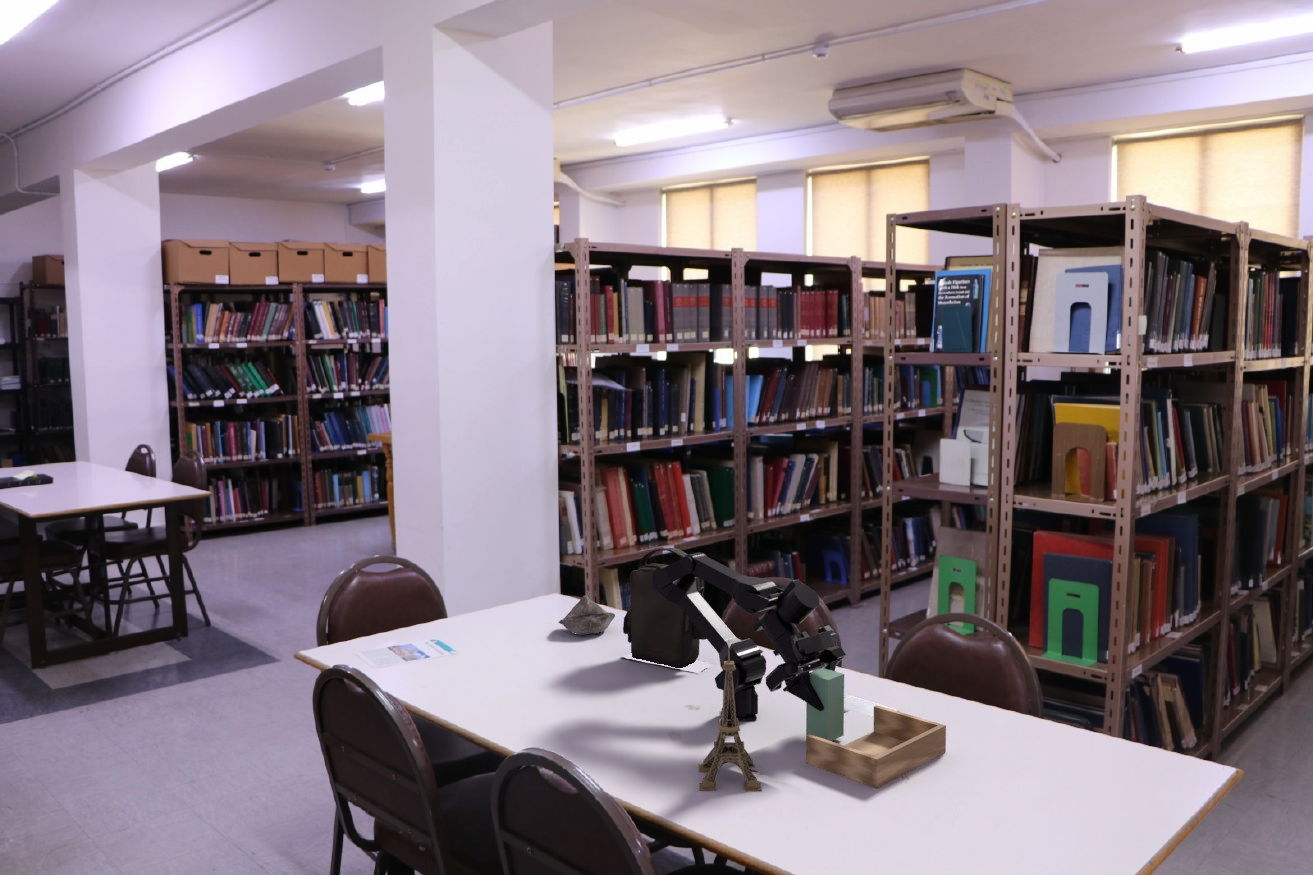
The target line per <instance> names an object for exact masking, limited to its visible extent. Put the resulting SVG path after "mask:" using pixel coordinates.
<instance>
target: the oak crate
mask: <svg viewBox="0 0 1313 875" xmlns="http://www.w3.org/2000/svg"><path fill="white" fill-rule="evenodd" d="M805 735H806V734H805ZM946 742H947V725H946V724H943V723H940V722H935V721H932V720H928V719H926V718H921V717H918V716H914V715H911V714H908V713H905V712H902V711H900V712H898V711H895V710H891V709H888V708H884V707H881V706H878V705H876V706H874V717H873V731H871V732H870V733H867V734H865V735H863V736H861V737H859V738H857V739H855V740H853V741H850V742H848V743H846V744H844V745H843V744H840V743H838V742H833V740H832V741H829V740H826V739H823V738H820V737H817V736H814V735H811V734H809V735H806V736H805V745H806V746H805V763H806V764H808V765H811V766H813V767H816V768H819V769H822V770H825V771H826V772H830V773H832V774H836V775H838V776H841V777H844V778H846V779H849V780H852V781H855V782H858V783H860V784H863V785H866V786H868V787H871V788H874V789H879V788H881V787H882V786H885V785H886V784H888V783H890V782H892V781H894V780H897V779H898V778H900V777H901V776H903V775H905V774H908V773H909V772H911V771H912V770H915V769H917V768H918V767H920V766H922V765H924V764H927V763H928V762H929V761H932V760H934V759H935V758H937V757H939V756H941V755H943V754H945V753H946V750H947V748H946V746H947V743H946Z"/></svg>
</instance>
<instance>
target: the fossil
mask: <svg viewBox="0 0 1313 875" xmlns="http://www.w3.org/2000/svg"><path fill="white" fill-rule="evenodd" d="M615 617H616V614H615V613H613V612H611V611H610V612H608V611H607V610H605V609H604V608H602V607H601V605H599V604H598V603H596V602H595V601H594V600H592V599H591V598H590V597H589V595H583V596H582V597H581V598H580V600H579V601H578V602H577V603H575V605H574V606H573V607H572V608H571V610H570V611H569V612H568V613H567V614H566V615H565V617H564V618H562V619H560V620H559V621H558V623H559V624H560V625H562V626H564V627H565V628H566V629H567V630H568V631H569V632H570V633H572V634H574V633H576V634H575V635H579V634H585V635H589V634H588V633H590V634H592V633H597V634H600V633H599V632H601V633H603V632H605V631H606V630H607V629H608V628H609V626H610V624H611V622H612V621H613V620H614V619H615Z"/></svg>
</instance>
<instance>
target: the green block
mask: <svg viewBox="0 0 1313 875" xmlns="http://www.w3.org/2000/svg"><path fill="white" fill-rule="evenodd" d="M809 674H810V683H811V684H812V686H813V688H814V690H815V691H816V693H817V695H818V696H819V698H820V700H821V702H822V704H823V706H824V709H823V710H822V711H819V710H817V709H816V708H814V707H813V706H811V705H809V704H808V703H806V702H805V703H806V704H805V706H806V708H805V709H806V713H805V714H806V716H805V717H806V720H805V723H806V724H805V727H806V728H805V735H809V734H811V735H814V736H817V737H820V738H823V739H826V740H829V741H832V742H833V741H834V740H837V739H839V738H841V737H843V736H845V735H844V730H845V729H844V723H845V722H844V720H845V719H844V718H845V715H844V714H845V713H844V697H845V674H844V673H842V672H838V671H836V670H835V671H832V670H828V669H825V668H821V669H819V670H816V671H809Z"/></svg>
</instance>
